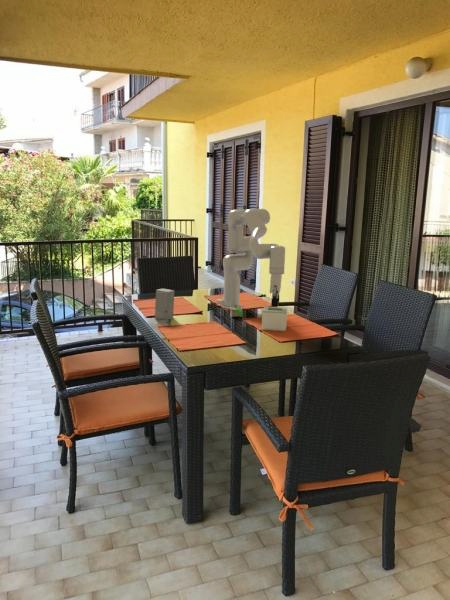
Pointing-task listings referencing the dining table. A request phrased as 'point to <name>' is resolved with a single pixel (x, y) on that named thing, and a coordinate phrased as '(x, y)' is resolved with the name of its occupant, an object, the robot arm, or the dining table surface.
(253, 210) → the robot arm
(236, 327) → the dining table surface
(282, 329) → the box
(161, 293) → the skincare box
